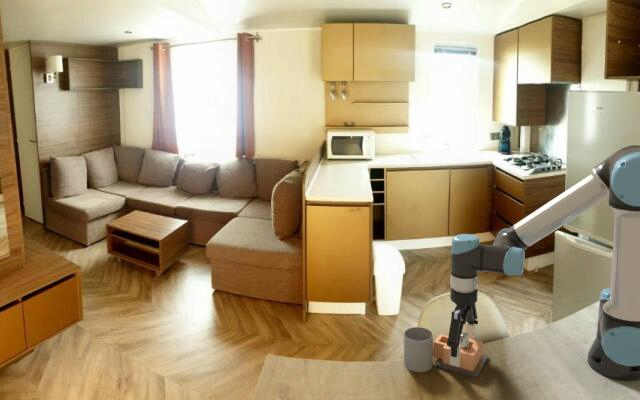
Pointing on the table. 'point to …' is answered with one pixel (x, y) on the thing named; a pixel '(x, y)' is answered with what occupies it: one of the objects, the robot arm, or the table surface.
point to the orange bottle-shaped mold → (467, 357)
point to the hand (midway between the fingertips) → (462, 354)
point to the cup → (418, 349)
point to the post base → (463, 345)
